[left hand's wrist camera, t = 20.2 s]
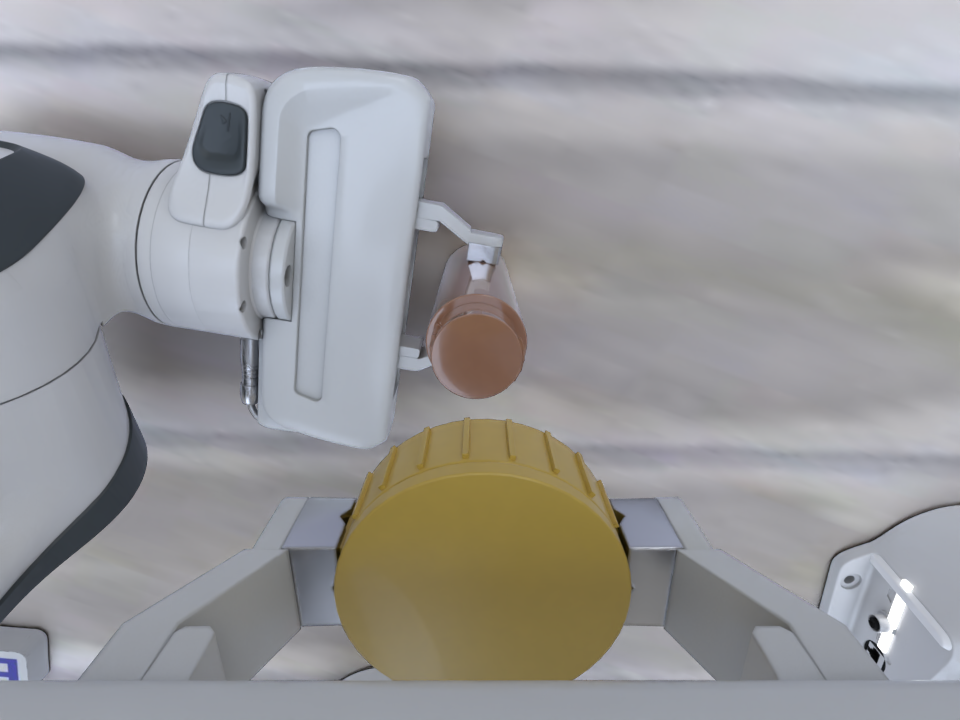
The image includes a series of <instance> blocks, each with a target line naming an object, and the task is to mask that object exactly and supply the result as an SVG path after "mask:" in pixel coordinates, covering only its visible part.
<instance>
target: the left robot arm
mask: <svg viewBox="0 0 960 720" xmlns="http://www.w3.org/2000/svg"><path fill="white" fill-rule="evenodd" d="M357 500H358V499H357V498H321V497H311V498H309V497H287V498H285V499H283V500H282V501H281V502H280V504H279V506H278V507H277V509H276V511H275V512H274V514H273V516H272V517H271V519H270V520H269V522H268V524H267V525H266V527H265V529H264V530H263V532H262V534H261V535H260V537H259V539H258V540H257V542H256V543H255V545H254V547H253V548H252V549H244V550H243V551H241V552H239V553H238V554H236V555H234V556H233V557H231V558H230V559H228V560H226V561H225V562H223V563H221V564H220V565H218V566H216V567H215V568H213V569H212V570H210V571H208V572H207V573H205V574H203V575H202V576H200V577H198V578H197V579H195V580H193V581H192V582H190V583H189V584H187V585H185V586H184V587H182V588H180V589H179V590H177V591H175V592H174V593H172V594H171V595H169V596H167V597H166V598H164V599H162V600H161V601H159V602H157V603H156V604H154V605H152V606H151V607H149V608H148V609H146V610H144V611H143V612H141V613H139V614H138V615H136V616H134V617H133V618H131V619H130V620H128V621H126V622H125V623H123V624H122V625H121V626H120V627H119V629H118V630H117V631H116V633H115V634H114V635H113V636H112V638H111V639H110V640H109V641H108V643H107V644H106V645H105V646H104V648H103V649H102V650H101V651H100V653H99V654H98V655H97V656H96V658H95V659H94V660H93V661H92V663H91V664H90V665H89V667H88V668H87V669H86V670H85V672H84V673H83V674H82V675H81V677H80V678H79V679H78V680H0V720H960V505H954V506H948V507H942V508H938V509H934V510H931V511H928V512H925V513H922V514H919V515H917V516H914V517H912V518H910V519H908V520H906V521H904V522H902V523H900V524H899V525H897V526H895V527H894V528H892V529H891V530H889V531H888V532H886V533H885V534H883V535H882V536H880V537H879V538H877V539H875V540H873V541H871V542H869V543H866V544H863V545H860V546H857V547H853V548H851V549H848V550H846V551H843V552H841V553H840V554H838V555H837V556H836V557H835V558H834V559H833V560H832V562H831V566H830V569H829V573H828V577H827V581H826V584H825V588H824V592H823V596H822V600H821V603H820V607H819V609H818V608H817V607H815V606H813V605H812V604H810V603H808V602H807V601H805V600H803V599H802V598H800V597H798V596H797V595H795V594H794V593H792V592H790V591H789V590H787V589H785V588H784V587H782V586H780V585H779V584H777V583H775V582H774V581H772V580H770V579H769V578H767V577H766V576H764V575H762V574H761V573H759V572H757V571H756V570H754V569H752V568H751V567H749V566H747V565H746V564H744V563H742V562H741V561H739V560H737V559H736V558H734V557H733V556H731V555H729V554H728V553H726V552H724V551H723V550H721V549H713V548H712V547H711V545H710V543H709V542H708V540H707V539H706V537H705V535H704V534H703V532H702V531H701V529H700V527H699V526H698V524H697V523H696V521H695V520H694V518H693V516H692V515H691V513H690V512H689V510H688V508H687V507H686V505H685V504H684V502H683V500H682V499H680V498H679V497H658V498H635V499H609V501H610V504H611V506H612V509H613V511H614V514H615V517H616V519H617V522H618V524H619V527H617V528H618V531H619V532H618V536H619V539H620V541H621V544H622V547H623V549H624V552H625V554H626V557H627V561H628V565H629V569H630V573H631V588H632V589H631V599H630V606H629V609H628V613H627V617H626V620H625V622H624V624H623V625H634V626H664V629H665V630H666V631H667V632H668V633H669V634H670V635H671V636H672V637H673V638H674V639H675V640H676V641H677V642H678V643H679V644H680V645H681V646H682V647H683V648H684V649H685V650H686V651H687V652H688V653H689V654H690V655H691V656H692V657H693V658H694V659H695V660H696V661H697V662H698V663H699V664H700V665H701V666H702V667H703V668H704V669H705V670H706V671H707V672H708V673H709V674H710V675H711V676H712V677H713V678H714V679H715V680H716V681H680V680H416V681H250V680H251V679H252V678H253V677H254V676H255V675H256V674H257V673H258V672H259V671H260V670H261V669H262V668H263V667H264V666H265V665H266V664H267V663H268V662H269V660H270V659H271V658H272V657H273V656H274V655H275V654H276V653H277V652H278V651H279V650H280V649H281V648H282V647H283V646H284V645H285V644H286V643H287V642H288V641H289V640H290V639H291V638H292V637H293V636H294V635H295V634H296V633H297V632H298V631H299V630H300V629H301V627H300V626H330V625H341V622H340V619H339V616H338V613H337V609H336V603H335V597H334V577H335V571H336V566H337V562H338V559H339V556H340V554H341V552H340V546H341V543H342V540H343V538H344V535H345V533H346V525H347V523H348V520H349V517H350V516H351V515H352V513H353V511H354V508H355V505H356V502H357Z"/></svg>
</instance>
